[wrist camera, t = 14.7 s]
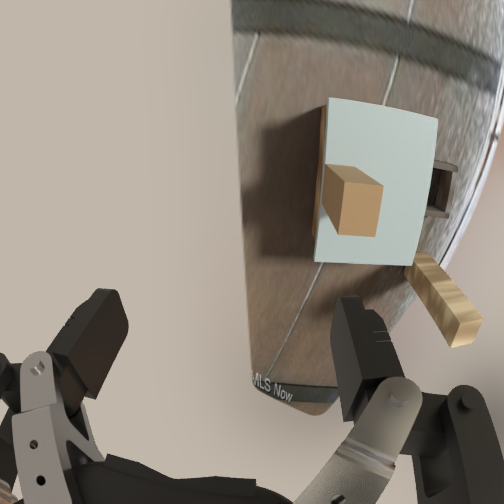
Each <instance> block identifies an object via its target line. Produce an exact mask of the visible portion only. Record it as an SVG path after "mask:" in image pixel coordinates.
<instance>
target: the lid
mask: <svg viewBox="0 0 504 504" xmlns="http://www.w3.org/2000/svg"><path fill="white" fill-rule="evenodd" d="M437 125H438V119H436V118H432V117H429V116H425V115H421V114H417V113H413V112H409V111H405V110H400V109H396V108H391V107H386V106H381V105H376V104H370V103H365V102H359V101H352V100H345V99H338V98H330V97H329V98H327V111H326V130H325V146H324V160H323V172H322V184H321V195H320V205H319V214H318V223H317V232H316V241H315V249H314V257H313V258H314V262H334V263H356V264H379V265H403V266H412V264H413V260H414V257H415V253H416V249H417V245H418V241H419V237H420V233H421V229H422V224H423V220H424V215H425V210H426V205H427V200H428V195H429V189H430V183H431V177H432V170H433V163H434V155H435V147H436V137H437Z"/></svg>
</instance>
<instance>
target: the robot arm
mask: <svg viewBox="0 0 504 504" xmlns="http://www.w3.org/2000/svg"><path fill="white" fill-rule="evenodd" d="M128 327H129V326H128V320H127V317H126V314H125V311H124V308H123V306H122V302H121V300H120V296H119V293H118V292H117V291H116V290H114V289H101V288H98V289H96V290H95V292H94V293H93V294H92V296H91V297H90V298H89V299H88V300H86V301H85V302H84V303H82V304H81V305H80V306H79V307H77V308H76V310H75V311H74V312H73V314H72V315H71V316H70V318H69V319H68V321H67V322H66V324H65V326H63V327H62V329H61V330H60V332H59V333H58V335H57V336H56V337H55V339H54V340H53V342H52V343H51V345H50V346H49V347H48V349H47V350H46V352H43V351H38V352H35V353H32V354H31V355H29V356H28V357H27V358H26V359H25V360H24V361H23V363H15V364H11V363H10V362H9V361H8V359H7V358H6V356H5V355H4V354H2V353H0V399H2V400H3V401H4V402H5V403H6V404H7V405H8V407H9V409H8V411H7V413H6V415H5V417H4V419H3V421H2V423H1V425H0V504H375V503H376V502H377V500H378V499H379V497H380V495H381V493H382V492H383V490H384V489H385V487H386V485H387V484H388V482H389V480H390V478H391V477H392V475H393V473H394V470H395V465H394V464H395V461H396V459H397V457H398V455H399V454H406V455H412V460H413V467H414V474H415V482H416V490H417V500H418V504H504V459H503V456H502V452H501V448H500V445H499V442H498V438H497V435H496V432H495V429H494V426H493V423H492V420H491V417H490V414H489V411H488V409H487V406H486V403H485V400H484V398H483V396H482V395H481V393H480V392H479V391H478V390H477V389H475V388H474V387H471V386H468V385H460V386H457V387H455V388H454V389H452V391H451V392H450V393H449V394H448V395H438V394H429V393H424V392H421V390H420V388H419V387H418V386H417V385H416V384H415V383H414V382H413V381H411V380H409V379H407V378H405V376H404V373H403V370H402V367H401V365H400V362H399V359H398V356H397V354H396V351H395V349H394V346H393V343H392V342H391V338H390V336H389V333H387V328H386V326H385V323H384V321H383V319H382V318H381V317H380V316H379V315H378V314H377V313H376V312H375V311H374V310H373V309H372V310H365V308H364V306H363V303H362V300H361V298H360V296H359V295H354V296H338V297H337V299H336V304H335V310H334V315H333V320H332V325H331V332H330V342H331V349H332V354H333V360H334V365H335V371H336V377H337V383H338V389H339V395H340V401H341V408H342V415H343V421H344V422H346V421H354V427H353V429H352V430H351V432H350V433H349V434H348V436H347V437H346V439H345V440H344V441H343V442H342V443H341V445H340V446H339V447H338V448H337V450H336V451H335V453H334V454H333V455H332V457H331V458H330V459H329V461H328V462H327V463H326V465H325V466H324V467H323V468H322V470H321V471H320V472H319V473H318V475H317V476H316V477H315V478H314V480H313V481H312V482H311V483H310V484H309V485H308V487H307V488H306V489H305V490H304V491H303V493H302V494H301V495H300V496H299V497H298V498H297V499H296V500H295V501H294V503H293V502H291V501H290V500H289V499H287V498H285V497H284V496H282V495H280V494H278V493H276V492H274V491H271V490H268V489H266V488H262V487H259V486H256V479H243V478H229V477H218V476H213V477H202V478H189V479H173V478H170V477H168V476H166V475H163V474H161V473H159V472H157V471H155V470H153V469H151V468H149V467H147V466H145V465H143V464H141V463H139V462H135V461H131V460H128V459H124V458H120V457H117V456H114V455H110V454H107V457H106V459H104V457H103V456H102V454H101V453H100V451H99V450H98V448H97V446H96V444H95V441H94V438H93V435H92V431H91V427H90V424H89V420H88V417H87V413H86V409H85V406H84V404H83V402H82V400H83V398H84V396H85V397H88V398H92V399H96V398H97V396H98V393H99V391H100V389H101V387H102V385H103V383H104V381H105V379H106V376H107V374H108V372H109V370H110V368H111V366H112V364H113V362H114V360H115V358H116V356H117V354H118V352H119V350H120V348H121V346H122V344H123V342H124V340H125V338H126V336H127V333H128ZM17 474H18V476H19V481H20V486H21V491H22V495H23V499H21V500H19V501H18V499H17V497H16V496H15V495H13V494H12V489H13V486H14V483H15V480H16V476H17Z"/></svg>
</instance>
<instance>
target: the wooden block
mask: <svg viewBox="0 0 504 504" xmlns="http://www.w3.org/2000/svg"><path fill="white" fill-rule="evenodd" d="M404 276H405V277H406V278H407V280H408V281H409V283H410V284H411V286H412V287H413V289H414V290H415V292H416V293H417V295H418V296H419V298H420V299H421V301H422V302H423V304H424V305H425V307H426V309H427V310H428V311H429V313H430V315H431V316H432V318H433V320H434V321H435V323H436V324H437V326H438V328H439V330H440V331H441V333H442V335H443V336H444V338H445V340H446V341H447V343H448V345H449V346H450V348H452V347H456V346H460V345H465V344H469V343H473V341H474V339H475V337H476V334H477V332H478V330H479V327H480V325H481V323H482V320H483V318H482V316H481V315H480V314H479V313H478V311H477V310H476V309H475V307H474V306H473V305H472V303H471V302H470V301H469V300H468V299H467V297H466V296H465V295H464V294H463V292H462V291H461V290H460V289H459V288H458V286H457V285H456V284H455V283H454V282H453V281H452V279H451V278H450V277H449V276H448V275H447V274H446V273H445V271H444V270H443V269H442V268H441V267H440V266H439V265H438V264H437V262H436V261H435V260H434V259H433V258H432V257H431V256H430V255H429V254H428V253H427V252H426V253H415V257H414V260H413V264H412V266H405V271H404Z"/></svg>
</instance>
